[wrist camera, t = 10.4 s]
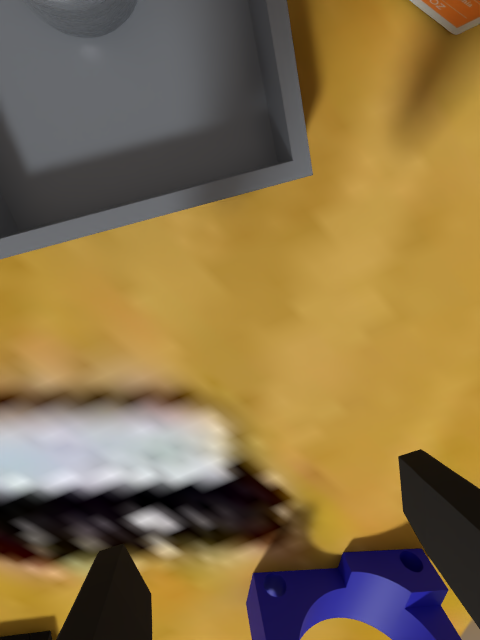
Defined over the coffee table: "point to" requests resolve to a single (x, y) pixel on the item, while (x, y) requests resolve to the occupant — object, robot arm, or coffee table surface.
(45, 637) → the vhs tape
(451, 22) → the skincare box
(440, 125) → the coffee table surface
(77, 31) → the cell
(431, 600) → the cable clip
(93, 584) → the robot arm
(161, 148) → the grey tray
